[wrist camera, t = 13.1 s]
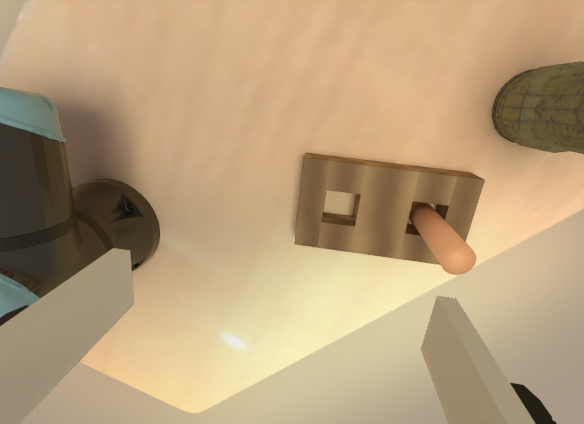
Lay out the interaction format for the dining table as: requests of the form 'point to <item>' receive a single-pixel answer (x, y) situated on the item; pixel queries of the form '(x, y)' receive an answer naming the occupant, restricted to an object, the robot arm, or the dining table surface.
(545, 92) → the thermos
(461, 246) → the peg
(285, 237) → the dining table surface
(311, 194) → the hole block
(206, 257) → the dining table surface
